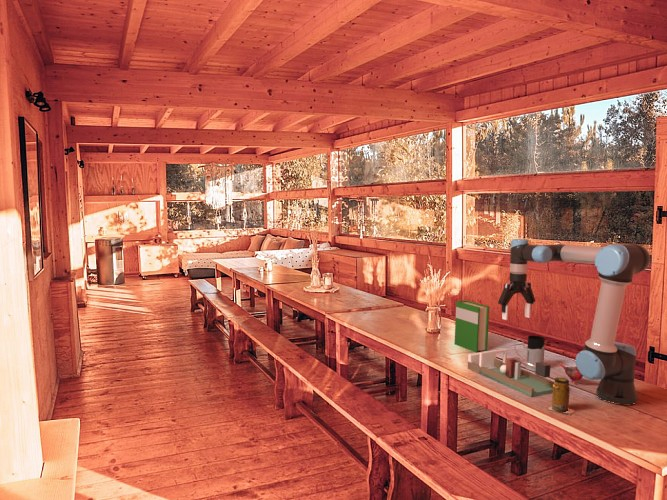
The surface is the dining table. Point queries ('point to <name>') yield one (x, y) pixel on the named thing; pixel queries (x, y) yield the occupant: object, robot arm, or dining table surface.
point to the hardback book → (471, 325)
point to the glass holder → (534, 350)
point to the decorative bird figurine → (572, 373)
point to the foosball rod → (540, 367)
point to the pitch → (519, 382)
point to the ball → (503, 369)
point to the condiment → (560, 395)
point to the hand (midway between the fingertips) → (516, 318)
